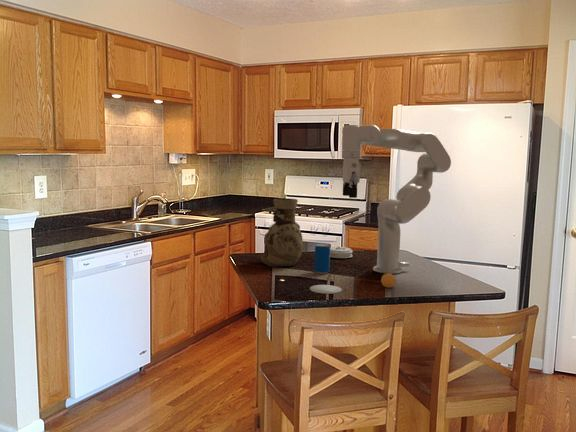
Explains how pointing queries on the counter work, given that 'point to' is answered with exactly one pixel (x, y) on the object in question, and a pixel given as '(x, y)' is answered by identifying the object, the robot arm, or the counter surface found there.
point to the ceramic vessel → (283, 236)
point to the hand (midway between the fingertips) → (349, 196)
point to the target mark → (325, 289)
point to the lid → (340, 252)
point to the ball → (388, 280)
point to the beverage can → (322, 258)
